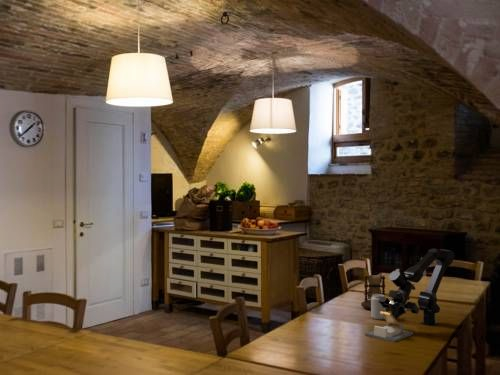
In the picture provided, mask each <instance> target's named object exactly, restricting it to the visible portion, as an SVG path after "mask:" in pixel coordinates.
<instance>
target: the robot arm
mask: <svg viewBox="0 0 500 375" xmlns="http://www.w3.org/2000/svg"><path fill="white" fill-rule="evenodd" d="M455 256H456V254H455V252H454V251H453V250H449V249H443V248H440V249H438V248H430V249H428V251H427V253H426V254H424V256H423V257H422V258H421V259H420V260H419V261H418V262H417V263H416V264H415V265H412V266H410V267H408V268H407V269H405V271H404V272H402V270H401V269H400V268H396V269H395V270H393V271H392V272H390V273H389V276H388V279H389V280H390V281H391V282H392V283H393V284H394V285H395V286H396V288H398V289H396V290H393V289H389V291H388V297H389V298H390V299H391V300H390V299H389V298H388V297H385V298H384V297H381V298H380V299H379V303H380V304H381V305H382V307H384V308H386V309H390V313H391V314H392V316H393V317H394V318H395V319H396V320H397V319H398V318H400V317H401V316H402V315H404V314H406V313H407V310H410V312H411V313H412V314H416V315H418V314H419V312H420V311H423V317H422V318H423V320H422V321H420V324H423V325H428V326H435V325H438V324H439V321H436V316H437V315H436V314H438V313H440V311H441V307H440V306H439V304H438V303H437V302H438V298H437V293H438V291H439V290H438V289H439V287H440V284H441V282H442V281H443V277H444V275H445V272H446V270H447V268H449V266H450V265H452V264H453V261H454V260H455ZM434 261H435V263H436V264H435V267H434V269H433V272H432V275H431V277H430V279H429V282H428V284H427V287H426V288H425V290H424V291H422V290H421V291H420V292H419V295H418V296H417V303H416V302H412V301H410V299H411V298H410V295H411V292H412V290H413V291H414V290H416V287H415V284H414V283H416V284H417V283H419V282H420V281H421V280H422V279H423V277H424V272H425V271H426V270H427V269H428V268H429V267H430V266H431V265H432V264H433V262H434Z"/></svg>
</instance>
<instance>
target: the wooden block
mask: <svg viewBox="0 0 500 375" xmlns="http://www.w3.org/2000/svg"><path fill="white" fill-rule="evenodd" d="M380 314H381V315H382V316H383V317H384V319H383V320H385V321H386V323H387V322H388V323H389V325H390V326H391V327H396V328H397V327H399V328H400V326H399V325H400V323H399V322H398V320H397V319H395V318H394V317H393V316H392V314H391V312H387V311H386V312H382V311H381V312H380Z"/></svg>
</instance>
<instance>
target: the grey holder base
mask: <svg viewBox="0 0 500 375" xmlns="http://www.w3.org/2000/svg"><path fill="white" fill-rule="evenodd" d="M399 324H400V323H399ZM399 326H400V327H399V328H397V327H395V326H391V325H389V323H388V322H387V321H386V325H384V326H378V325H374V326H373V330H371V331H368V332H366V333H364V335H365V337H369V338H374V339H378V340H382V341H387V342H390V343H391V342H392V343H396V342H398V341H401V340H404V339H406V338H408V337H410V336H412V335H414V331H410V330H404V324H403V323H401V324H400V325H399Z"/></svg>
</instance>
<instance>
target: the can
mask: <svg viewBox="0 0 500 375" xmlns="http://www.w3.org/2000/svg"><path fill="white" fill-rule="evenodd" d="M381 297H384V295H382V293H381V294H373V295H372V297H371V299H370V300H371V308H370V315H371V318H372V319H373V320H385V319H384V317H383V316H382V315H381V314H380V312H381V311H382V312H387V308H384V307H382V305H381V304H380V303H379V299H380V298H381ZM384 298H386V296H385V297H384Z"/></svg>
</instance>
